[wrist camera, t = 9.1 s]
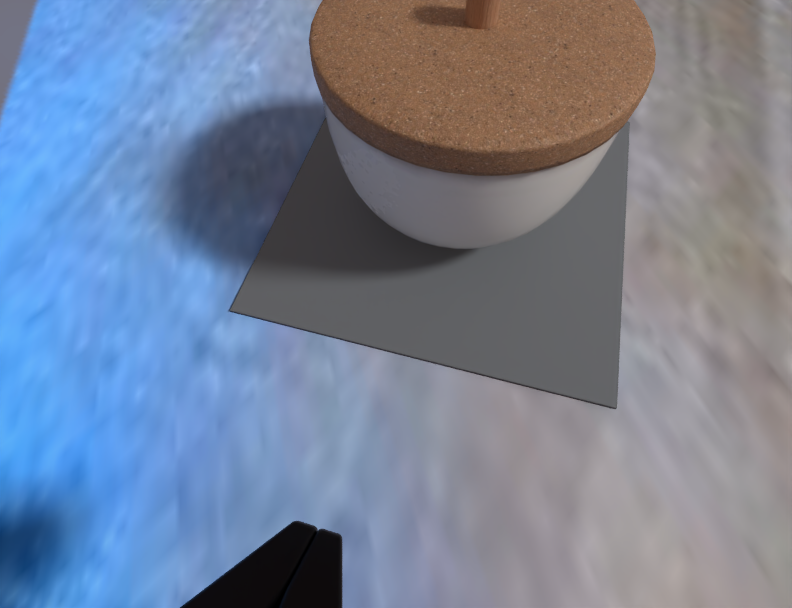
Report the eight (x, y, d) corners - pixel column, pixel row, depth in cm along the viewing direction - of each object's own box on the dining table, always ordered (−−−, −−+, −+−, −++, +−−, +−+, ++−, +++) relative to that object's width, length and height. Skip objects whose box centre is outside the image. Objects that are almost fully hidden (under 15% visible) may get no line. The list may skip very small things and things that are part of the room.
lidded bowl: (480, 343, 20) (555, 166, 10) (291, 204, 24) (215, -21, 14) (612, 182, 24) (754, -50, 15) (434, 86, 28) (452, -149, 19)
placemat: (612, 410, 19) (617, 408, 19) (233, 314, 22) (230, 310, 21) (626, 128, 27) (629, 121, 27) (348, 81, 29) (347, 74, 29)
